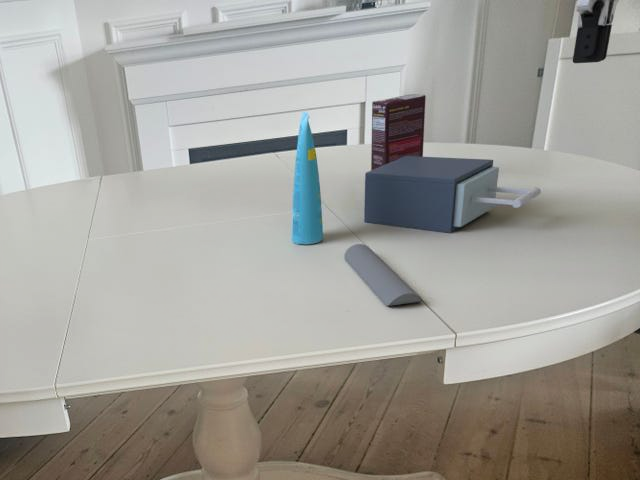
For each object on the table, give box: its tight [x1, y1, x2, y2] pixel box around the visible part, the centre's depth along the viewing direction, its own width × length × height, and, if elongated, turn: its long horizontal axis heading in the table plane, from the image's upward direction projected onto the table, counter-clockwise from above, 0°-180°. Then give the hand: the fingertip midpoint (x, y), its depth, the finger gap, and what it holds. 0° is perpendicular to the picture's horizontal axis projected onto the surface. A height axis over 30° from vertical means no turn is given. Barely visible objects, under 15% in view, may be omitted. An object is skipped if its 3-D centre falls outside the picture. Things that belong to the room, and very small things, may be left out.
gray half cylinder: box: [344, 243, 423, 307], centre depth 82 cm, size 4×20×2 cm, turn 1°
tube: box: [291, 109, 324, 245], centre depth 96 cm, size 7×5×19 cm, turn 179°
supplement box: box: [370, 93, 427, 171], centre depth 119 cm, size 9×5×16 cm, turn 108°
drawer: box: [453, 166, 542, 228], centre depth 98 cm, size 21×11×6 cm, turn 42°
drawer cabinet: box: [363, 156, 494, 234], centre depth 101 cm, size 15×13×8 cm
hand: (588, 61), depth 79 cm, fingers closed
